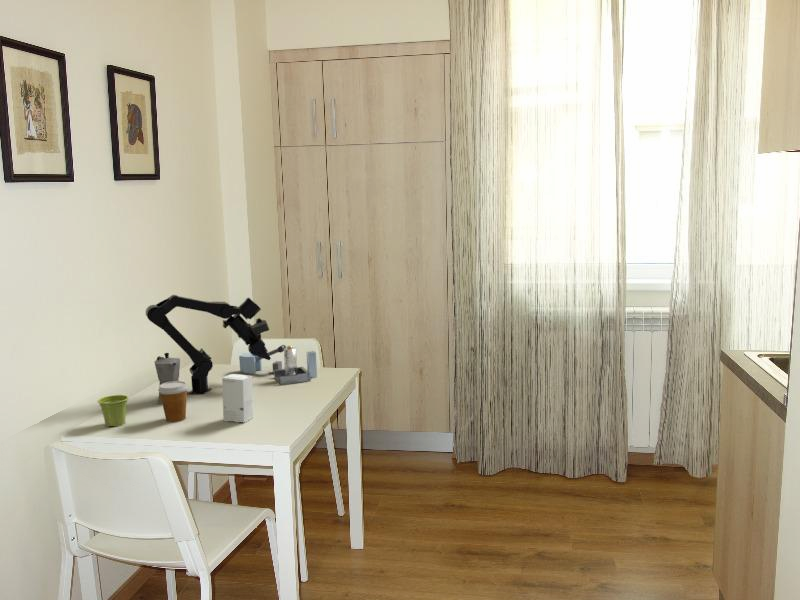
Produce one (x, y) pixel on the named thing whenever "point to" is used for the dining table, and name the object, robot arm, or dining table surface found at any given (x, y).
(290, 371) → the silver metal cylinder
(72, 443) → the dining table surface
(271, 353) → the lever
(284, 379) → the tray
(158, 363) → the coffeepot
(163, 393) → the disposable coffee cup
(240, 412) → the skincare box
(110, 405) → the plant pot
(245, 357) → the lever frame
